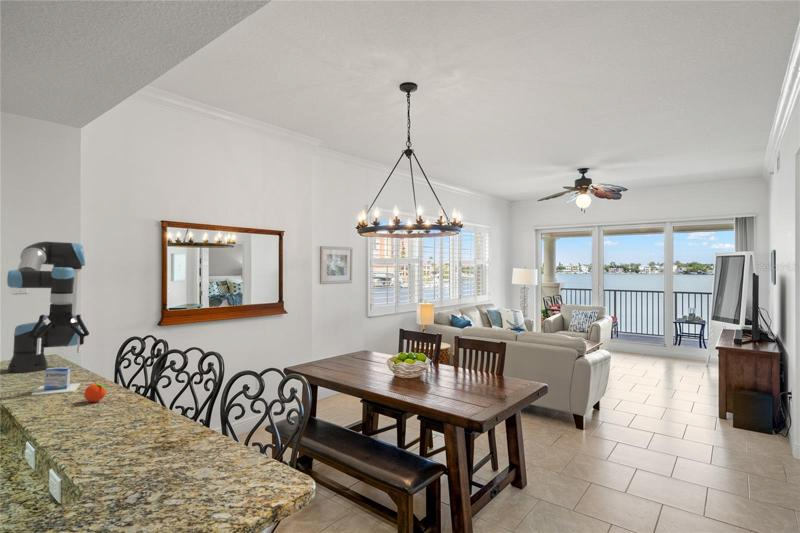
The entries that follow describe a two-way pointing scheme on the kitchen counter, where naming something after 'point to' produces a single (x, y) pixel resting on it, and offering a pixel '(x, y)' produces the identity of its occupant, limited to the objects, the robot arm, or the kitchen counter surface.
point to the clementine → (95, 392)
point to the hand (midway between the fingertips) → (58, 353)
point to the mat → (70, 389)
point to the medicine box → (57, 378)
